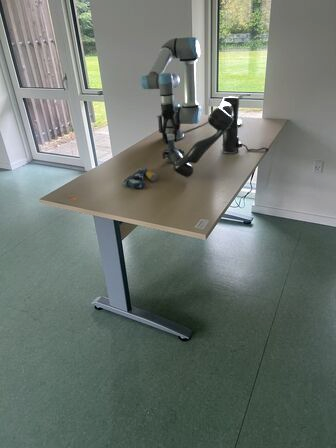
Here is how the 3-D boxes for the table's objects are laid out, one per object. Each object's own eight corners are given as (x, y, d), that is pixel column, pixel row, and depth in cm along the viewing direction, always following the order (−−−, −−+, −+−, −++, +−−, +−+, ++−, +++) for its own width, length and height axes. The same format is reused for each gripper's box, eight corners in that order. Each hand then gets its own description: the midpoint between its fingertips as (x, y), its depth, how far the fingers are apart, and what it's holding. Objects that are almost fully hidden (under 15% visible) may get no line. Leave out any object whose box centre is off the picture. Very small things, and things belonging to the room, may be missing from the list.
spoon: (234, 136, 244) (234, 133, 243) (220, 136, 248) (220, 133, 247) (243, 120, 270) (243, 118, 269) (230, 120, 274) (230, 118, 273)
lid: (172, 140, 198) (171, 136, 197) (163, 139, 201) (163, 136, 200) (176, 137, 203) (176, 134, 201) (168, 137, 205) (167, 133, 204)
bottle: (166, 161, 208) (164, 137, 200) (169, 159, 212) (167, 134, 203) (174, 162, 206) (172, 137, 198) (176, 159, 210) (174, 135, 202)
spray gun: (162, 175, 189) (139, 172, 195) (161, 168, 187) (138, 166, 193) (144, 191, 174) (120, 188, 180) (143, 184, 171) (119, 181, 178)
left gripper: (177, 99, 197) (180, 137, 209) (149, 104, 190) (154, 144, 202) (184, 100, 192) (186, 140, 204) (156, 106, 184) (159, 147, 196)
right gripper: (188, 150, 193) (180, 142, 207) (163, 154, 191) (158, 145, 205) (188, 163, 197) (181, 153, 211) (165, 166, 195) (159, 157, 209)
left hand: (170, 142), depth 203 cm, fingers closed on lid, 6 cm apart
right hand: (170, 149), depth 208 cm, fingers closed on bottle, 5 cm apart
